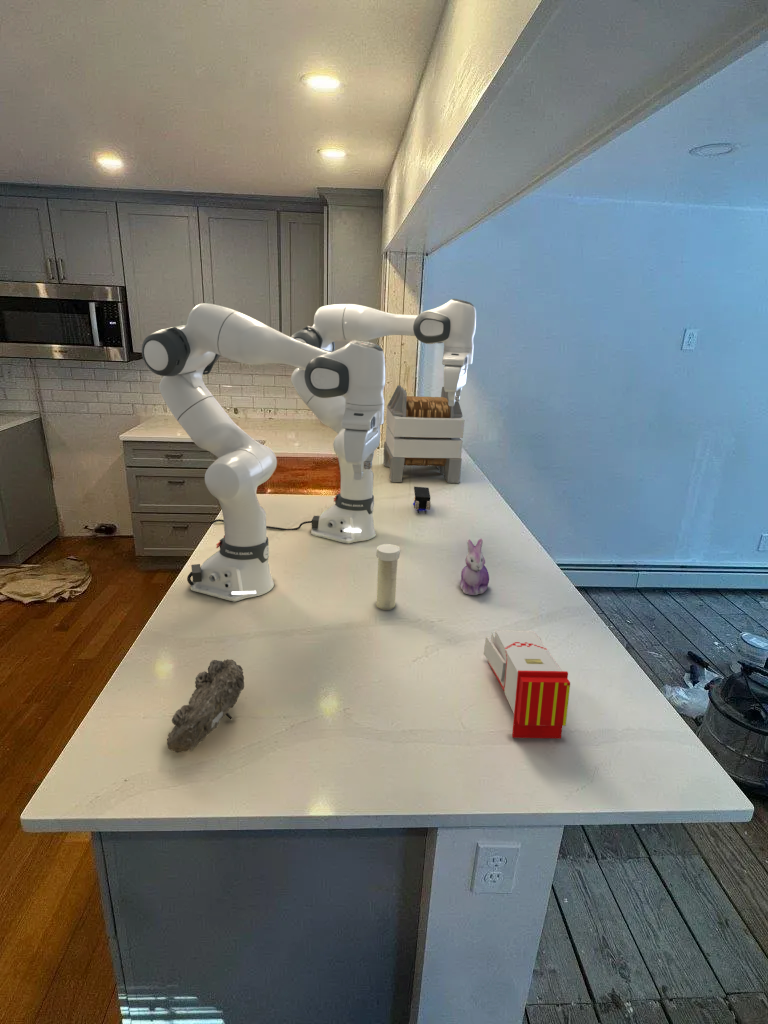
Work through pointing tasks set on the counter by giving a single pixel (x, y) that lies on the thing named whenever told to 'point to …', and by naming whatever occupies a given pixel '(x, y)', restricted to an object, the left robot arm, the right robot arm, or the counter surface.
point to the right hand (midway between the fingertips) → (454, 403)
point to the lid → (388, 552)
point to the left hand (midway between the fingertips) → (363, 473)
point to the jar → (386, 584)
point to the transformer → (423, 434)
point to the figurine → (474, 571)
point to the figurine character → (421, 499)
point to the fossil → (206, 705)
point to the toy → (529, 683)
